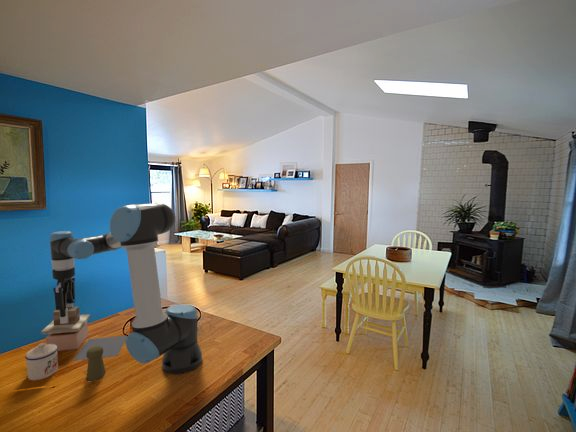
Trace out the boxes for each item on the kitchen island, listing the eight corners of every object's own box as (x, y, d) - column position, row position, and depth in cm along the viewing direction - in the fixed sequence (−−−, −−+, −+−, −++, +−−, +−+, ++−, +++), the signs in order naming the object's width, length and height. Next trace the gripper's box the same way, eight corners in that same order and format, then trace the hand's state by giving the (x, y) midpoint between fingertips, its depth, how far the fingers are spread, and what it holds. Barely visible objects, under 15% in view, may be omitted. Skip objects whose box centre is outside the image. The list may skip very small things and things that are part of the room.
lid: (78, 331, 121) (77, 314, 120) (41, 334, 117) (39, 317, 116) (90, 316, 133) (89, 301, 132) (57, 319, 130) (56, 304, 129)
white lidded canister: (49, 380, 104) (47, 350, 103) (20, 382, 102) (17, 352, 101) (68, 360, 116) (66, 332, 114) (42, 361, 114) (40, 334, 113)
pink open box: (77, 350, 123) (76, 334, 122) (46, 353, 120) (45, 337, 119) (88, 336, 133) (87, 322, 132) (60, 339, 130) (59, 324, 129)
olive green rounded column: (109, 372, 109) (108, 345, 108) (94, 383, 103) (92, 354, 102) (98, 369, 111) (96, 342, 110) (82, 379, 105) (80, 350, 104)
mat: (117, 356, 119) (117, 355, 119) (72, 361, 115) (72, 360, 115) (128, 336, 134) (128, 335, 134) (88, 340, 130) (88, 339, 130)
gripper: (63, 262, 129) (66, 312, 132) (41, 275, 113) (46, 331, 116) (82, 262, 131) (85, 311, 134) (64, 274, 115) (67, 329, 118)
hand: (67, 320), depth 125 cm, fingers closed on lid, 4 cm apart
